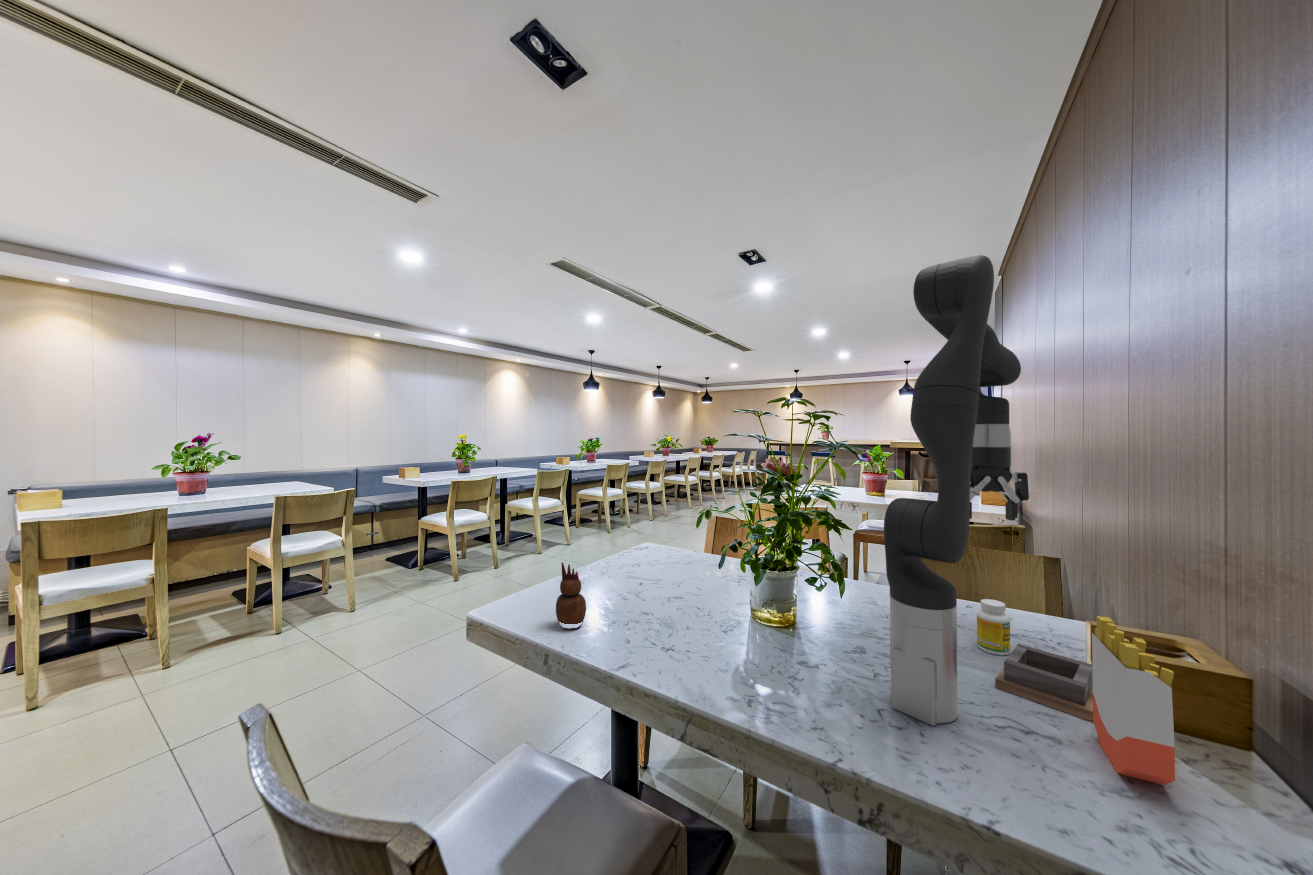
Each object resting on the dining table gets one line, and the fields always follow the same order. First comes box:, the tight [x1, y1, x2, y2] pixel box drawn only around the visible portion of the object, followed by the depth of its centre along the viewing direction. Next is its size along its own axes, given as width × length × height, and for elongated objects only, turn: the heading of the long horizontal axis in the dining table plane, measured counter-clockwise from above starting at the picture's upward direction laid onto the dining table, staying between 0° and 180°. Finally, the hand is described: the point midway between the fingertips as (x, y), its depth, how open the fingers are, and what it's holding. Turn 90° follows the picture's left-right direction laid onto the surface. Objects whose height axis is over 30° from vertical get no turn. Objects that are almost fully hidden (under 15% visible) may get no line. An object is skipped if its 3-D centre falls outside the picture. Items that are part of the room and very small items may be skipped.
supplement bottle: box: [976, 598, 1011, 656], centre depth 89 cm, size 5×5×10 cm
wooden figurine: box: [555, 562, 587, 624], centre depth 102 cm, size 7×6×15 cm
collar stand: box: [994, 643, 1094, 723], centre depth 75 cm, size 12×12×4 cm
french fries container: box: [1091, 615, 1176, 786], centre depth 58 cm, size 5×11×18 cm, turn 151°
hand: (988, 519), depth 96 cm, fingers open, 8 cm apart
